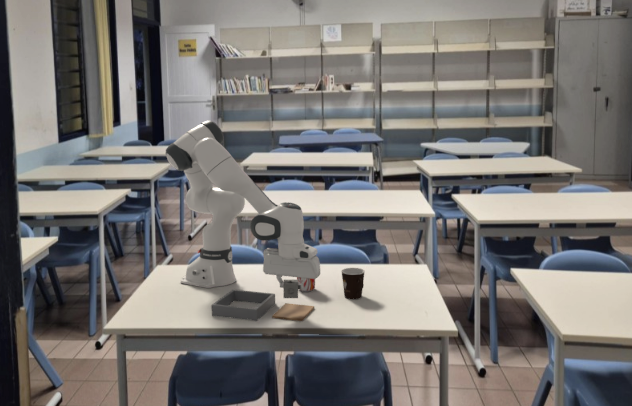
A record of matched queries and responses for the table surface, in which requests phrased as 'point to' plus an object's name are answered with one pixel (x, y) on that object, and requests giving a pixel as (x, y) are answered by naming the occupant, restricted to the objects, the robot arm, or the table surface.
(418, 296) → the table surface
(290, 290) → the dice cube
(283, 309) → the brown rectangular mat
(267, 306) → the bin
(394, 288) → the table surface
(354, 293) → the coffee mug
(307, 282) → the soda can
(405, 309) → the table surface
